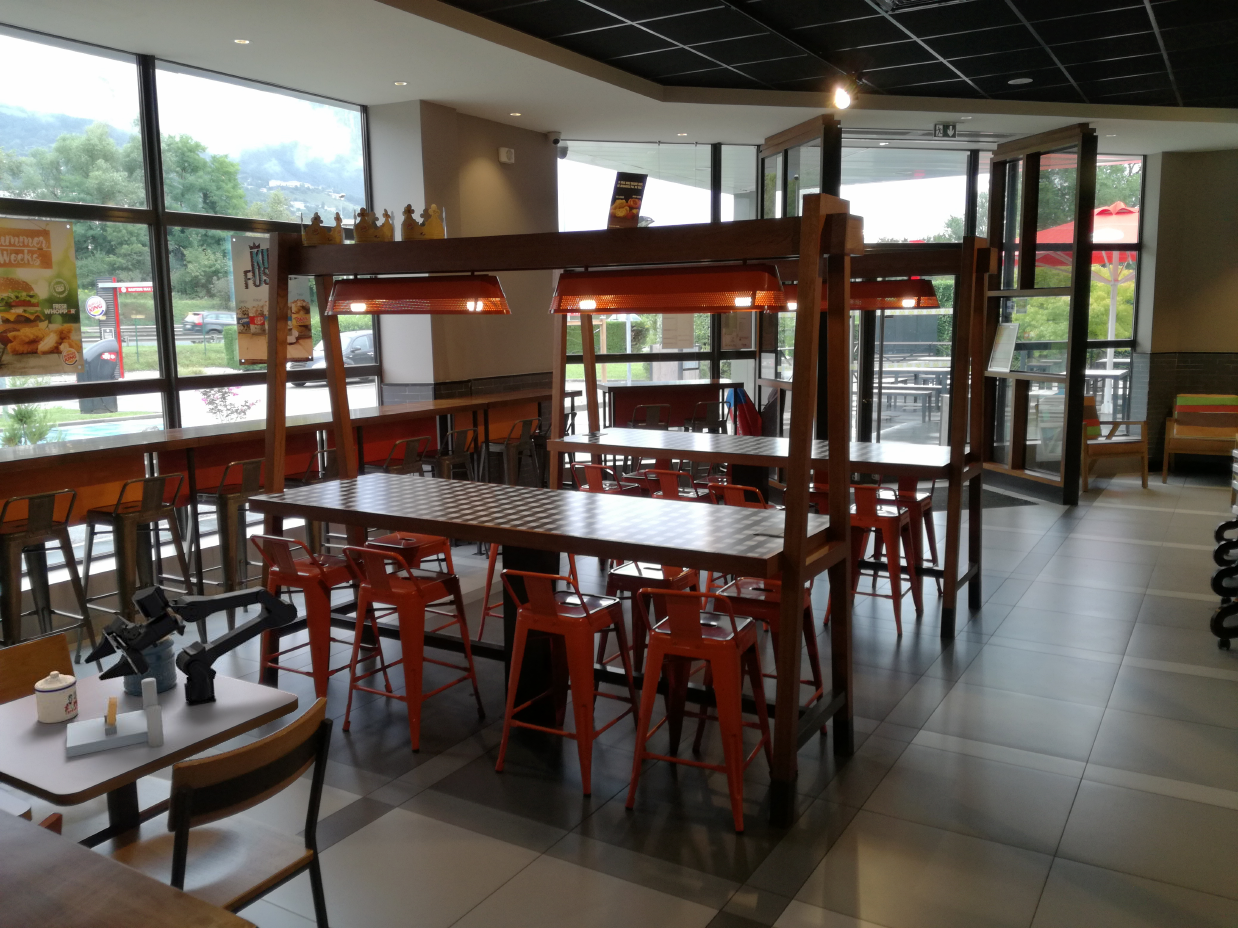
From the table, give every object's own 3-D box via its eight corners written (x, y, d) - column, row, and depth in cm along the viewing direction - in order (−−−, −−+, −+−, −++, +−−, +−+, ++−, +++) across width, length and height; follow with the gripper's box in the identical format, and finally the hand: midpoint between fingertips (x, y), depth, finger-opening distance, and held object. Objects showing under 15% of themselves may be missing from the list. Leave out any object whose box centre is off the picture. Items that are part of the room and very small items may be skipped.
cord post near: (163, 739, 217) (160, 703, 215) (164, 744, 214) (161, 708, 212) (148, 742, 215) (145, 706, 214) (149, 748, 212) (146, 711, 211)
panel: (151, 717, 229) (150, 701, 228) (155, 739, 217) (154, 722, 216) (68, 733, 220) (66, 716, 219) (67, 757, 208) (65, 739, 207)
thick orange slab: (114, 716, 220) (116, 697, 220) (114, 723, 216) (117, 704, 216) (106, 716, 219) (109, 697, 219) (107, 724, 215) (109, 704, 215)
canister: (188, 681, 252) (183, 620, 249) (148, 699, 240) (143, 635, 237) (153, 674, 256) (148, 614, 253) (112, 692, 244) (107, 629, 241)
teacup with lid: (74, 721, 226) (69, 676, 224) (32, 726, 224) (27, 681, 222) (86, 702, 238) (82, 659, 236) (46, 706, 235) (42, 663, 233)
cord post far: (157, 710, 233) (155, 676, 231) (158, 714, 230) (156, 681, 229) (143, 712, 231) (141, 679, 230) (144, 717, 229) (141, 683, 227)
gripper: (124, 594, 231) (62, 631, 222) (154, 624, 219) (90, 664, 211) (143, 625, 237) (83, 662, 228) (174, 656, 225) (112, 696, 217)
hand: (92, 670), depth 221 cm, fingers open, 9 cm apart
